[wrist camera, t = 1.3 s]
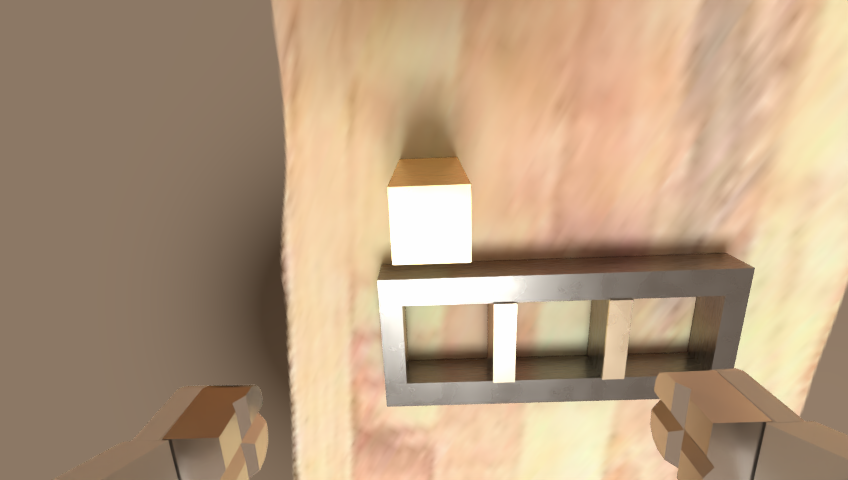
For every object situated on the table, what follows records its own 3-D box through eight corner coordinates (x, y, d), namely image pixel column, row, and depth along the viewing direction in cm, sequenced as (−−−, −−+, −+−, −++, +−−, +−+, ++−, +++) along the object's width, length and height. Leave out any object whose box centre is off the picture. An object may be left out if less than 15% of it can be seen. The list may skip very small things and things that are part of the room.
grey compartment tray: (381, 264, 33) (377, 281, 30) (725, 252, 32) (756, 269, 29) (390, 382, 36) (386, 408, 33) (703, 372, 36) (729, 398, 33)
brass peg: (399, 159, 30) (387, 187, 21) (457, 156, 30) (471, 184, 21) (402, 214, 32) (392, 265, 22) (458, 212, 32) (471, 262, 22)
